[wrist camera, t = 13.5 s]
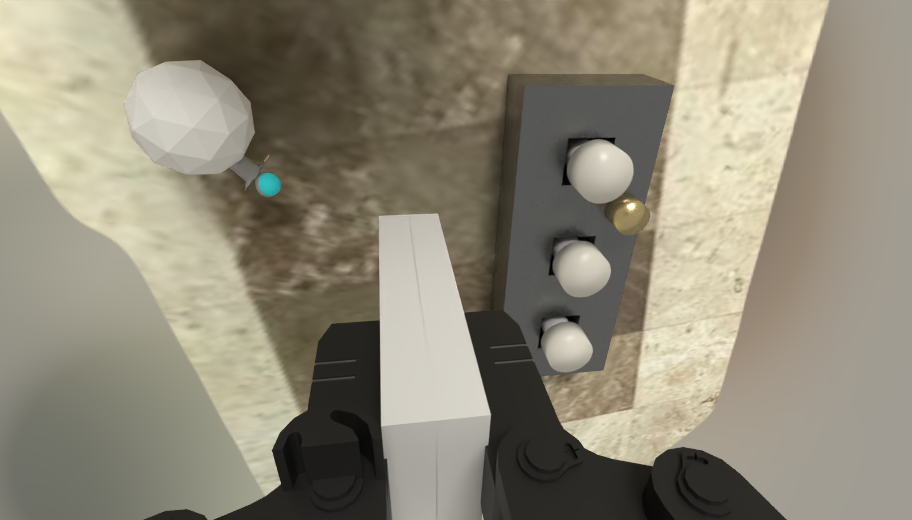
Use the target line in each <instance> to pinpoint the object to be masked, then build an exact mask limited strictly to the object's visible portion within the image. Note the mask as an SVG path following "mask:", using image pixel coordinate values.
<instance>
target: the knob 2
mask: <svg viewBox="0 0 912 520" xmlns="http://www.w3.org/2000/svg"><path fill="white" fill-rule="evenodd" d="M565 165H566V166H567V176H568V179H569V182H570V183H571V185H572V186H573V187H574V188H575V189H576V190H577V191H578V192H579V193H580V194H581V195H582V196H583V197H584V198H585V199H586V200H588V201H590V202H592V203H597V204H601V203H607V202H610V201H613V200H615V199H616V198H618V197H619V196H620V195H622V194H623V193H624V192H625V190H626V189H627V188H628V186H629V185H630V183H631V180H632V177H633V170H634V169H633V163H632V160H631V159H630V157H629V156H628V155H627V154H626V153H625V152H624V151H622V150H621V149H619V148H618V147H616V146H615V145H613V144H612V143H610V142H609V141H606V140H602V139H596V140H591V141H590V140H588V139H587V138H568V145H567V152H566V159H565Z"/></svg>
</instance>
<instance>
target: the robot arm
mask: <svg viewBox="0 0 912 520" xmlns="http://www.w3.org/2000/svg"><path fill="white" fill-rule="evenodd" d="M379 276H380V320H379V321H365V322H351V323H337V324H331V326H330V327H329V328H328V330H327V331H326V332H325V334H324V335H323V336H322V338H321V339H320V340H319V342H318V348H317V354H316V360H315V366H314V373H313V383H312V385H311V391H310V398H309V404H308V410H307V411H306V412H304V413H302V414H301V415H299V416H297V417H295V418H294V419H293V420H292V421H291V422H290V423H289V424H288V425H287V426H286V427H285V428H284V429H283V430H282V431H281V432H280V434H279V436H278V438H277V440H276V443H275V445H274V447H273V449H272V452H273V456H274V460H275V463H276V467H277V470H278V474H279V478H280V481H281V485H280V486H278V487H277V488H276V489H275V490H273V491H272V492H271V493H269V494H268V495H267V496H265V497H263V498H262V499H260V500H258V501H256V502H254V503H252V504H250V505H248V506H245V507H243V508H241V509H238V510H236V511H233V512H231V513H229V514H227V515H224V516H221V517H219V518H217V519H214V520H482V514H483V519H484V520H786V519H785V518H784V517H783V516H782V515H781V514H780V513H779V512H778V511H777V510H776V509H775V508H774V507H773V506H772V505H771V504H770V503H769V502H768V501H767V500H766V499H765V498H764V497H763V496H762V495H761V494H760V493H759V492H758V491H757V490H756V489H755V488H754V487H753V486H752V485H751V484H750V483H749V482H748V481H747V480H746V479H745V478H744V477H743V476H742V475H741V474H740V473H738V472H737V471H736V470H735V469H733V468H732V467H731V466H729V465H728V464H727V463H726V462H724V461H723V460H722V459H719V458H717V457H715V456H713V455H711V454H709V453H706V452H704V451H702V450H696V449H691V448H685V447H681V448H675V449H669V450H666V451H665V452H664V453H662V454H661V455H659V456H658V457H657V458H656V459H655V462H654V465H653V467H652V466H647V465H642V464H637V463H631V462H626V461H620V460H615V459H611V458H607V457H604V456H600V455H597V454H595V453H593V452H591V451H589V450H587V449H585V448H584V447H583V446H582V444H581V443H580V441H579V440H578V439H576V438H575V437H574V436H572V435H571V434H570V433H568V432H567V431H566V430H564V429H563V427H562V425H561V423H560V422H559V420H558V418H557V415H556V413H555V410H554V408H553V405H552V403H551V401H550V398H549V396H548V393H547V391H546V389H545V386H544V384H543V381H542V379H541V377H540V374H539V372H538V369H537V367H536V365H535V362H533V357H532V355H531V353H530V350H529V348H528V346H527V345H526V341H525V338H524V336H523V333H522V331H521V328H520V326H519V324H518V323H517V322H515V321H514V320H513V319H512V318H511V317H510V316H509V315H508V314H507V313H506V312H505V311H504V310H496V311H482V312H468V313H464V311H463V307H462V304H461V300H460V296H459V292H458V289H457V285H456V281H455V277H454V273H453V270H452V266H451V262H450V258H449V255H448V251H447V247H446V243H445V239H444V236H443V232H442V228H441V224H440V221H439V217H438V213H437V214H413V215H389V216H379ZM144 520H207V518H206V517H205V516H204V515H202V514H199V513H196V512H193V511H190V510H187V509H185V510H174V511H164V512H162V513H159V514H157V515H155V516H152V517H149V518H147V519H144Z"/></svg>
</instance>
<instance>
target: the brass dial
mask: <svg viewBox="0 0 912 520" xmlns="http://www.w3.org/2000/svg"><path fill="white" fill-rule="evenodd" d="M606 216H607V219H608V221H609V222H610V223H611V224H612V225H613V226H614V227H615V228H616V229H617V230H618V231H619V232H620V233H621V234H624V235H633V234H636V233H638V232H640V231H641V230H643V229H644V228H645V226H646V225H647V223H648V221H649V218H650V212H649V209H648V208H647V207H646V206H645V205H644V204H643V203H642V202H640V201H639V200H638V199H637V198H636V197H634V196H633V195H630V194H623V195H620V196H619V197H618V198H616V199H615V200H613V201H611V202H610V204H609V205H608V207H607V210H606Z"/></svg>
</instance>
